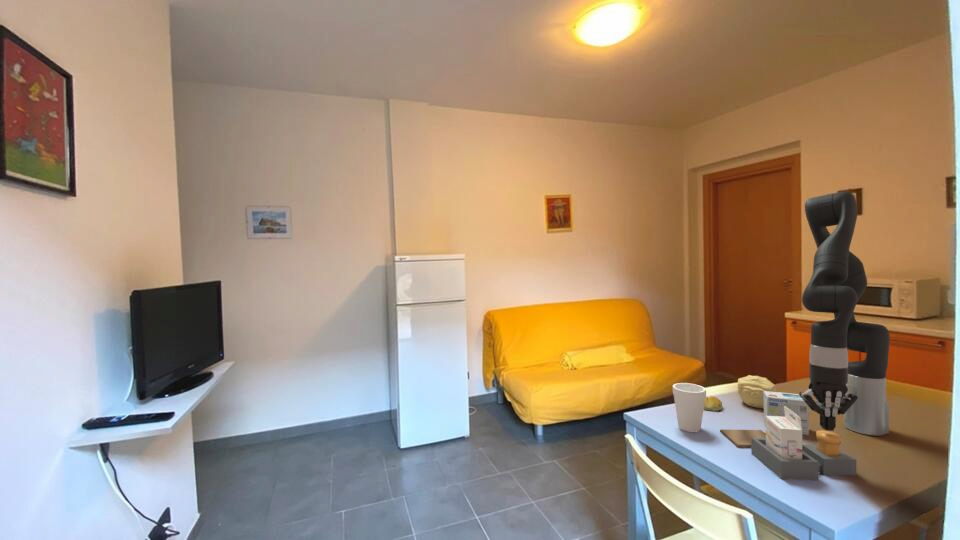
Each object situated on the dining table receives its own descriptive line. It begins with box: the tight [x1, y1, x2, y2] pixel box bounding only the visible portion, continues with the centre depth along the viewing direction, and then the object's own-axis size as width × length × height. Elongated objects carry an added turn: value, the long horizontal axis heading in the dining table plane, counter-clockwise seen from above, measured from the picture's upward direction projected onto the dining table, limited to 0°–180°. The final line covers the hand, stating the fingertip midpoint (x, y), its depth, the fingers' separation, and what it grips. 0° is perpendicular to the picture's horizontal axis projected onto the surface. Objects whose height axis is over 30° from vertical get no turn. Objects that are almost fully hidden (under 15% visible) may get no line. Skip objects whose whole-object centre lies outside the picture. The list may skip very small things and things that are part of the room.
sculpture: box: [737, 374, 778, 409], centre depth 146 cm, size 11×12×11 cm
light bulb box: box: [763, 391, 810, 436], centre depth 127 cm, size 11×7×11 cm, turn 65°
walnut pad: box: [719, 429, 766, 449], centre depth 120 cm, size 12×10×1 cm
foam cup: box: [672, 382, 707, 433], centre depth 129 cm, size 10×9×13 cm
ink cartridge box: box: [765, 406, 803, 460], centre depth 105 cm, size 9×5×15 cm, turn 168°
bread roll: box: [703, 396, 723, 412], centre depth 146 cm, size 8×9×4 cm
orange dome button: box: [815, 429, 842, 455], centre depth 104 cm, size 5×5×6 cm
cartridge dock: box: [750, 438, 857, 481], centre depth 105 cm, size 19×13×4 cm, turn 85°
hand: (827, 429), depth 104 cm, fingers closed
